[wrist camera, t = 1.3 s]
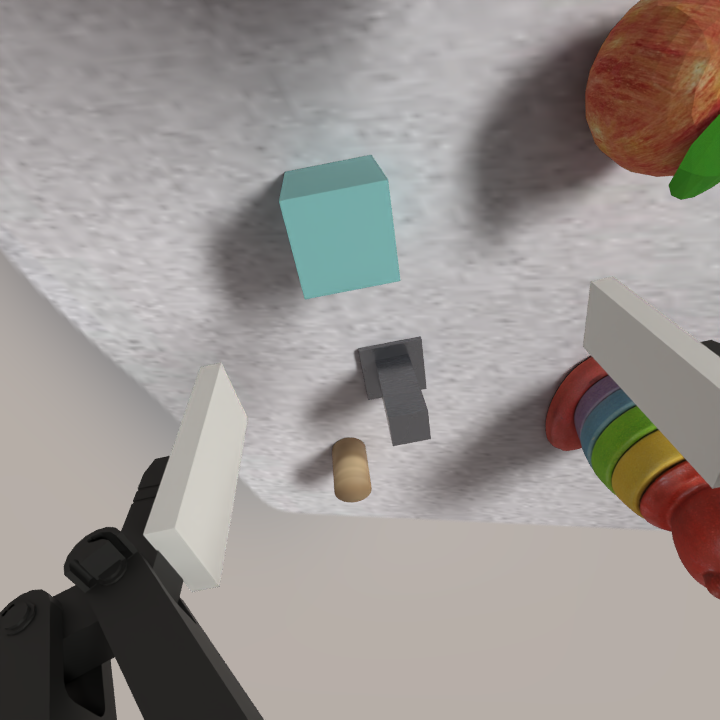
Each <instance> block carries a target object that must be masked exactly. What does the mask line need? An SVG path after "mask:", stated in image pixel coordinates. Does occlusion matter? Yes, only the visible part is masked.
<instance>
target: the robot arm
mask: <svg viewBox="0 0 720 720" xmlns="http://www.w3.org/2000/svg"><path fill="white" fill-rule="evenodd" d="M583 347H584V348H585V349H586V350H587V352H588V353H589V354H590V355H591V356H592V357H593V358H594V359H595V360H596V361H597V362H598V364H599V365H600V366H601V367H602V368H603V369H604V370H605V371H606V372H607V373H608V375H609V376H610V377H611V378H612V379H613V380H614V381H615V382H616V383H617V384H618V386H619V387H620V388H621V389H622V390H623V391H624V392H625V393H626V394H627V395H628V396H629V398H630V399H631V400H632V401H633V402H634V403H635V404H636V405H637V406H638V407H639V409H640V410H641V411H642V412H643V413H644V414H645V415H646V416H647V417H648V418H649V419H650V421H651V422H652V423H653V424H654V425H655V426H656V427H657V428H658V429H659V430H660V432H661V433H662V434H663V435H664V436H665V437H666V438H667V439H668V440H669V441H670V442H671V444H672V445H673V446H674V447H675V448H676V449H677V450H678V451H679V452H680V453H681V455H682V456H683V457H684V458H685V459H686V460H687V461H688V462H689V463H690V464H691V466H692V467H693V468H694V469H695V470H696V471H697V472H698V473H699V474H700V475H701V476H702V478H703V479H704V480H705V481H706V482H707V483H708V484H709V485H710V486H711V487H712V489H713V488H718V487H720V343H718V342H715V341H713V340H708V341H704V342H699V341H698V340H696V339H695V338H694V337H692V336H691V335H690V334H688V333H687V332H686V331H685V330H683V329H682V328H681V327H679V326H678V325H677V324H675V323H674V322H673V321H671V320H670V319H669V318H667V317H666V316H665V315H663V314H662V313H661V312H659V311H658V310H657V309H655V308H654V307H653V306H651V305H650V304H649V303H647V302H646V301H645V300H643V299H642V298H641V297H640V296H638V295H637V294H636V293H634V292H633V291H632V290H630V289H629V288H628V287H626V286H625V285H624V284H622V283H621V282H620V281H618V280H617V279H616V278H614V277H608V278H604V279H599V280H595V281H591V283H590V291H589V300H588V308H587V316H586V325H585V333H584V341H583ZM247 420H248V417H247V415H246V413H245V411H244V409H243V407H242V405H241V403H240V401H239V399H238V397H237V394H236V392H235V390H234V388H233V386H232V384H231V382H230V380H229V378H228V376H227V374H226V372H225V369H224V367H223V365H222V363H217V364H212V365H208V366H203V367H200V370H199V373H198V376H197V379H196V381H195V384H194V387H193V390H192V393H191V396H190V399H189V402H188V405H187V408H186V411H185V414H184V416H183V419H182V422H181V425H180V428H179V431H178V434H177V437H176V440H175V443H174V446H173V449H172V452H171V454H170V456H167V457H162V458H158V459H155V460H154V461H153V463H152V464H151V465H150V466H149V468H148V469H147V470H146V471H145V473H144V474H143V477H142V479H141V482H140V484H139V487H138V491H137V492H136V495H135V497H134V500H133V502H134V503H133V504H132V505H131V508H130V510H129V513H128V515H127V518H126V520H125V523H124V525H123V528H122V530H121V531H119V530H118V529H117V528H114V527H105V528H102V529H98V530H96V531H94V532H92V533H91V534H89V535H87V536H85V537H84V538H83V539H82V540H81V541H80V542H79V543H78V544H76V545H75V547H74V548H73V549H72V551H71V552H70V553H69V555H68V556H67V559H66V562H65V564H64V575H65V576H66V577H68V579H70V580H71V581H72V582H73V583H74V584H75V586H73V587H71V588H70V589H68V590H65V591H63V592H61V593H59V594H57V595H56V596H53V597H52V596H51V595H50V594H48V593H47V592H45V591H43V590H32V591H29V592H27V593H24V594H22V595H20V596H19V597H17V598H16V599H14V600H13V601H12V602H10V603H9V604H8V605H7V606H6V607H5V608H4V609H3V610H2V611H1V612H0V720H117V716H116V707H115V697H114V688H113V678H112V669H111V659H112V658H114V657H115V658H116V660H117V662H118V664H119V666H120V669H121V671H122V673H123V675H124V677H125V679H126V682H127V684H128V686H129V688H130V690H131V692H132V694H133V697H134V699H135V701H136V703H137V705H138V707H139V709H140V711H141V714H142V716H143V718H144V720H264V719H263V717H262V716H261V715H260V713H259V712H258V710H257V709H256V707H255V706H254V704H253V703H252V701H251V700H250V698H249V697H248V695H247V694H246V693H245V691H244V690H243V688H242V687H241V685H240V684H239V682H238V681H237V679H236V678H235V676H234V675H233V673H232V672H231V671H230V669H229V668H228V666H227V664H226V663H225V661H224V660H223V659H222V657H221V656H220V654H219V653H218V651H217V650H216V648H215V647H214V645H213V644H212V643H211V641H210V639H209V638H208V636H207V635H206V634H205V632H204V631H203V629H202V628H201V626H200V625H199V623H198V622H197V621H196V619H195V617H194V616H193V614H192V613H191V612H190V610H189V608H188V607H187V606H186V604H185V603H184V601H183V600H182V599H181V598H180V592H181V588H182V584H183V582H184V583H185V584H186V586H187V587H188V588H189V589H190V590H191V591H192V592H195V591H201V590H205V589H211V588H216V587H220V581H221V575H222V569H223V563H224V557H225V551H226V545H227V539H228V534H229V528H230V521H231V516H232V510H233V504H234V498H235V492H236V486H237V480H238V474H239V468H240V462H241V456H242V450H243V444H244V438H245V432H246V426H247Z"/></svg>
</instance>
